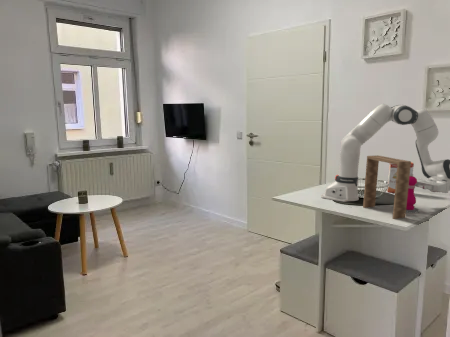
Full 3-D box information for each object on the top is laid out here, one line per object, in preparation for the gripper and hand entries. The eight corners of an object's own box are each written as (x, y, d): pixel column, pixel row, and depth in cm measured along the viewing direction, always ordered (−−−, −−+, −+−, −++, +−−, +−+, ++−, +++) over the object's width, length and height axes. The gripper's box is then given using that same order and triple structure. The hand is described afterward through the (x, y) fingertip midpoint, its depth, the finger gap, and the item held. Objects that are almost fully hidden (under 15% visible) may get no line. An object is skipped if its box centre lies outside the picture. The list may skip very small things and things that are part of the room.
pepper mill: (411, 211, 202) (415, 175, 198) (398, 208, 208) (401, 173, 204) (417, 208, 206) (421, 173, 202) (404, 205, 212) (408, 171, 208)
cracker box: (387, 192, 248) (390, 161, 244) (386, 190, 253) (389, 160, 250) (410, 194, 244) (414, 163, 240) (409, 192, 249) (412, 161, 246)
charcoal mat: (395, 210, 205) (396, 209, 205) (397, 206, 214) (397, 205, 214) (418, 213, 200) (418, 212, 199) (418, 208, 209) (418, 207, 209)
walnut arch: (393, 219, 189) (399, 162, 184) (363, 207, 211) (367, 155, 206) (405, 217, 192) (410, 161, 187) (373, 206, 213) (377, 155, 208)
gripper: (420, 175, 220) (402, 176, 215) (451, 182, 201) (432, 183, 196) (419, 186, 221) (401, 187, 216) (450, 193, 202) (431, 195, 197)
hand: (416, 185), depth 206 cm, fingers open, 8 cm apart
